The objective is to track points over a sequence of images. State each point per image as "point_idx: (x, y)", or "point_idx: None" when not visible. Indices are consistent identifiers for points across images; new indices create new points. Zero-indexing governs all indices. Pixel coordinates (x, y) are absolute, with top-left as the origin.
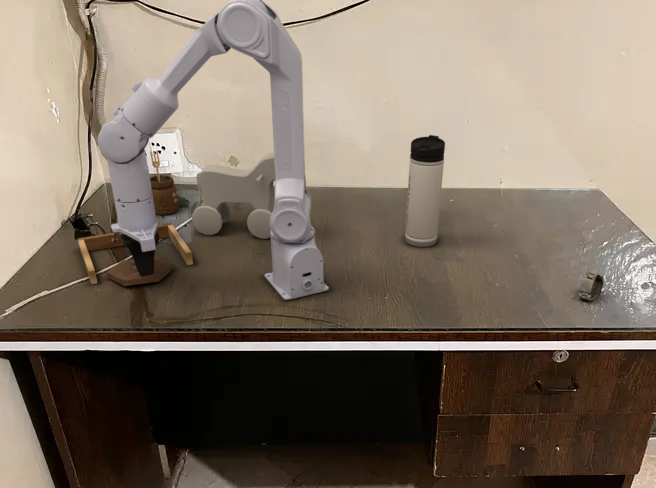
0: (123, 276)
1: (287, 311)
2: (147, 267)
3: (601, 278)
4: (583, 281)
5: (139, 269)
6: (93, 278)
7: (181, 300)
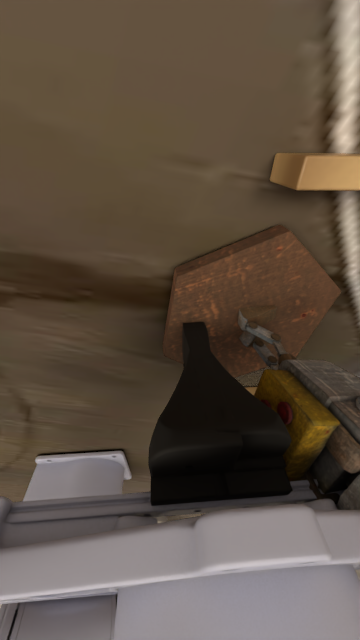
0: (213, 280)
1: (5, 452)
2: (184, 357)
3: None
4: None
5: (185, 338)
6: (281, 170)
7: (68, 361)
